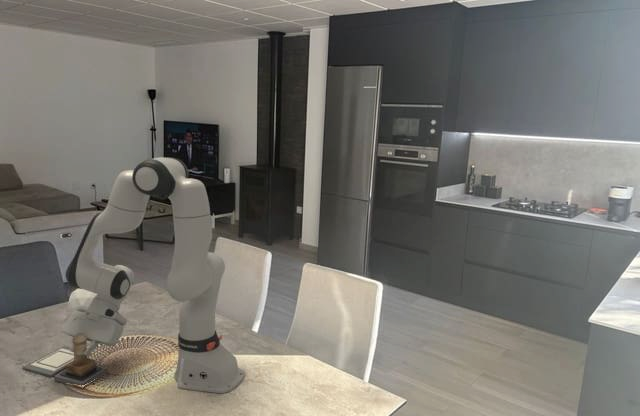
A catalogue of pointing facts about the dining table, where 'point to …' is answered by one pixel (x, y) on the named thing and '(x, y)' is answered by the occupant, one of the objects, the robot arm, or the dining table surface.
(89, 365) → the hand stamp
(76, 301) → the geodesic sphere
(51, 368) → the document board
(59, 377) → the ink pad
